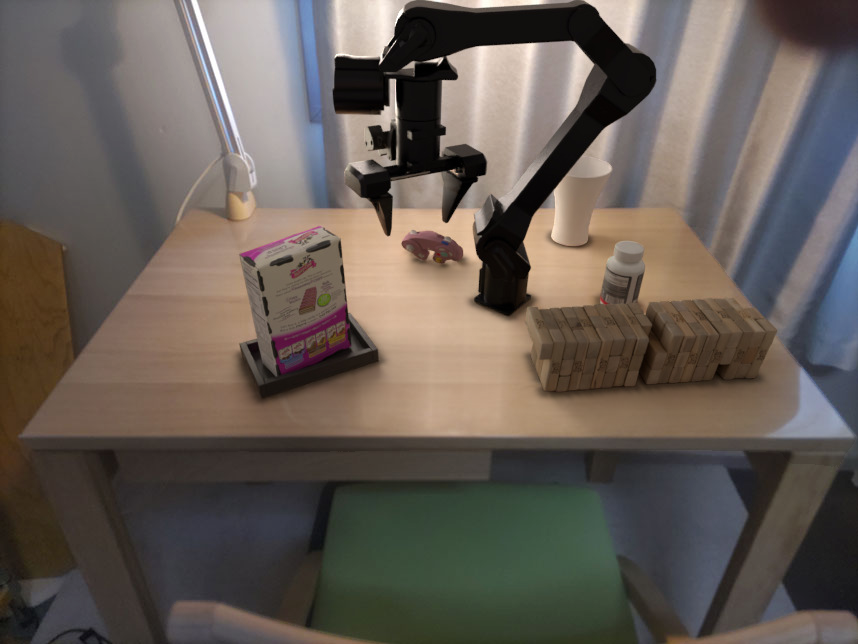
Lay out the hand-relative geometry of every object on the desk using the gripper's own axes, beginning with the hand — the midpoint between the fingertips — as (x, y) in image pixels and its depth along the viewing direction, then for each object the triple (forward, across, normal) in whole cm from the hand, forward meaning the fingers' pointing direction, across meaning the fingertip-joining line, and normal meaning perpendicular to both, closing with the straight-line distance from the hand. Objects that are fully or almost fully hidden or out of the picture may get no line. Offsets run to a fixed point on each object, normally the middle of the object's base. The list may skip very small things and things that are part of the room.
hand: (416, 228), depth 84 cm
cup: (+12, -34, -5) cm, 36 cm away
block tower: (+12, -18, +28) cm, 35 cm away
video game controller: (+12, -8, -10) cm, 18 cm away
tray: (+12, +19, +6) cm, 23 cm away
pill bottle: (+12, -26, +16) cm, 32 cm away
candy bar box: (+12, +19, +6) cm, 23 cm away
